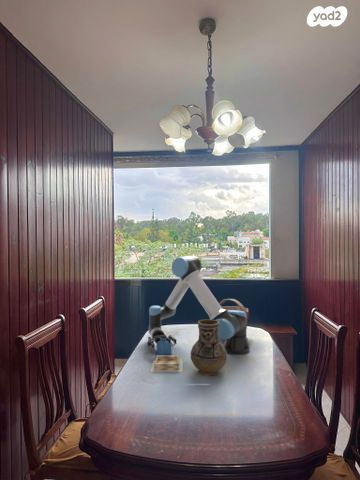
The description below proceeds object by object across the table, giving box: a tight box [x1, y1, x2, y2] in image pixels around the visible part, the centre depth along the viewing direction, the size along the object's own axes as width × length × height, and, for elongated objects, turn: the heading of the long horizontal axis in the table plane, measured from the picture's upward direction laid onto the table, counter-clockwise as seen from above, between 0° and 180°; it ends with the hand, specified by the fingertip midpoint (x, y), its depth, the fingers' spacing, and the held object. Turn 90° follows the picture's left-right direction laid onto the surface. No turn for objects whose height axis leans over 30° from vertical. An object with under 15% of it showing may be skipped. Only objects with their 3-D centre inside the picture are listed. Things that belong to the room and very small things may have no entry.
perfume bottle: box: [155, 334, 172, 356], centre depth 193 cm, size 6×6×12 cm
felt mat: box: [149, 359, 184, 373], centre depth 179 cm, size 16×16×1 cm
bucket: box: [218, 298, 250, 342], centre depth 229 cm, size 24×22×25 cm
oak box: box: [154, 354, 180, 370], centre depth 179 cm, size 12×12×3 cm
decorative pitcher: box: [190, 318, 228, 376], centre depth 171 cm, size 22×18×25 cm
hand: (164, 346), depth 189 cm, fingers open, 9 cm apart
